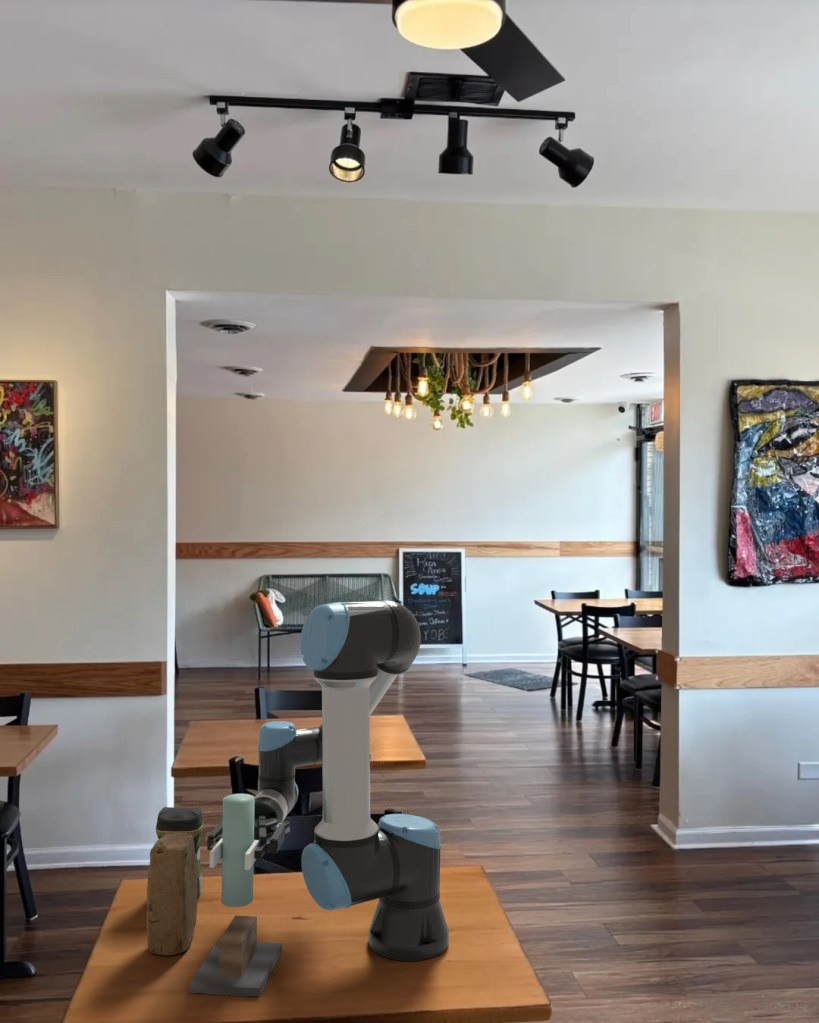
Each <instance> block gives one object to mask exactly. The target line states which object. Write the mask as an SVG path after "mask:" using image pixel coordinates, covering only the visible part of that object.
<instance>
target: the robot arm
mask: <svg viewBox="0 0 819 1023" xmlns="http://www.w3.org/2000/svg"><path fill="white" fill-rule="evenodd" d="M421 636H422V634H421V629H420V625H419V623H418V621H417V618H416V617H415V616H414V614H413V613H412V611H411V610H410V609H408V608H407V607H406V606H405V605H404V604H403V605H402V604H401V603H399V602H397V601H394V600H388V599H378V600H369V601H368V600H367V601H366V600H364V601H343V602H342V601H338V602H330V603H325V604H324V603H323V604H320V605H317V606H315V607H313V609H312V610H311V611H310V612H309V614H308V616H306V618H305V620H304V623H303V625H302V629H301V634H300V653H301V655H302V656H303V657H302V660H303V663H304V664H305V666H306V667H307V669H309V670H312V671H313V679H314V680H315V681H316V683H318V684H319V685H320V686H321V711H322V712H321V714H322V715H321V718H322V719H321V721H322V722H321V724H320V725H319V726H313V727H306V728H300V729H296V726H295V723H293V722H291V721H284V720H280V721H277V720H276V721H275V720H274V721H269V722H266V723H264V724H262V726H261V727H260V728H259V733H258V734H259V735H258V744H257V746H258V747H257V748H258V749H257V750H258V753H257V754H258V778H257V793H256V795H254V797H255V805H254V842H253V844H252V845H251V846H250V848H249V849H248V850H247V852H246V853H245V870H249V869H250V868H251V866H252V865H253V863H254V864H255V862H256V861H257V860H260V859H262V858H263V856H264V855H266V854H267V853H268V852H270V854H272V855H275V854H276V855H277V853H278V852H279V850H280V848H281V846H282V844H283V842H284V841H285V839H286V838H288V837H289V836H290V834H291V833H290V832H291V822H290V821H288V820H287V821H285V819H286V817H287V816H288V814H289V813H290V812H291V811H292V810H293V809H294V807H295V805H296V803H297V801H298V796H299V787H298V785H297V783H296V781H295V778H296V768H298V767H303V766H309V765H316V764H322V768H321V769H322V819H321V821H320V822H319V823H318V824H317V825H316V826H315V827H314V832H313V833H314V840H313V842H312V843H309V844H308V845H306V846H305V847H304V849H303V851H302V852H301V853H302V854H301V861H300V862H301V872H302V877H303V880H304V883H305V886H306V889H307V890H308V893H309V895H310V896H311V898H312V900H314V902H315V904H317V905H318V906H319V907H320V908H321V909H323V910H325V911H337V910H340V909H349V908H351V907H353V906H356V905H360V904H363V903H366V902H371V901H373V900H377V904H376V906H375V909H374V913H373V916H372V918H371V922H370V926H369V929H368V945H369V947H370V949H371V950H372V951H373V952H375V953H376V954H377V955H378V956H379V955H380V956H381V957H384V958H387V959H389V960H394V961H395V960H396V961H404V962H416V961H424V960H428V959H431V958H434V957H437V956H439V955H441V954H443V953H444V951H446V949H447V948H448V947H449V943H450V941H449V938H450V935H449V934H450V933H449V927H448V923H447V920H446V917H445V914H444V910H443V907H442V905H441V900H440V898H441V897H440V896H441V849H442V845H441V834H440V833H441V832H440V829H439V826H438V825H437V823H435V822H434V821H432V820H430V819H428V818H425V817H423V816H417V815H415V814H405V813H391V814H385V815H383V816H381V817H380V818H379V821H378V823H376V822H375V821H374V820H373V819H372V818H371V759H370V758H371V753H370V752H371V747H370V746H371V744H370V742H371V740H370V739H371V738H370V737H371V736H370V733H371V732H370V730H371V729H370V726H371V725H370V724H371V723H370V722H371V721H370V717H371V714H372V713H373V712H374V710H375V709H376V707H377V706H378V704H379V703H380V702H381V700H382V699H383V697H384V696H385V695H386V693H387V691H388V690H389V688H390V687H391V686H392V684H393V683H394V681H395V680H396V679H397V676H399V675H402V674H405V673H406V672H408V670H409V669H410V667H411V666H412V664H413V663H414V661H415V659H417V658H416V657H417V656H418V654H419V650H420V647H421V640H422V639H421V638H422V637H421ZM222 832H223V817H222V818H220V822H219V824H218V825H217V826H216V827H215V828H214V829H213V830H212V831H211V832H210V833H209V834H207V837H206V839H207V840H206V842H207V849H206V850H208V851H209V869H210V868H211V869H214V868H215V867H216V866H217V865H218V863H219V862H220V861H222ZM268 839H270V840H268Z"/></svg>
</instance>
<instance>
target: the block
mask: <svg viewBox="0 0 819 1023" xmlns="http://www.w3.org/2000/svg"><path fill="white" fill-rule="evenodd" d="M197 911H198V897H197V863H196V854H195V849H194V839H193V836H192V835H191V834H185V833H174V834H165V835H163V836H162V837H161V838H160V839H157V840H156V842H154V844H153V846H152V848H151V849H150V852H149V867H148V870H147V888H146V939H147V940H146V941H147V949H148V951H149V952H150V953H152V954H156V955H159V956H174V955H178V954H181V953H184V952H185V951H186V950H188V949H189V948H190V946H191V944H192V942H193V940H194V934H195V928H196V924H197V914H198V912H197Z"/></svg>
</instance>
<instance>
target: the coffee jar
mask: <svg viewBox="0 0 819 1023" xmlns="http://www.w3.org/2000/svg"><path fill="white" fill-rule="evenodd" d="M203 828H204V820H203V812H202V808H201V807H200V806H198V807H197V806H196V807H184V806H183V807H181V806H180V807H174V806H173V807H172V806H171V807H168V806H164V807H163V808H161V810H160V811H159V812H158V815H157V818H156V825H155V834H156V836H157V840H159V839H160V838H161V837H162V836H163V835H165V834H174V833H185V834H191V835H192V836H193V839H194V849H195V854H196V863H197V898H199V896H200V895H201V893H202V892H203V891H202V890H203V878H202V867H201V866H202V865H201V849H200V848H201V835H202V832H203V830H204V829H203Z"/></svg>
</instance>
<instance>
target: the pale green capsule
mask: <svg viewBox="0 0 819 1023" xmlns="http://www.w3.org/2000/svg"><path fill="white" fill-rule="evenodd" d="M254 805H255V795H253V794H252V795H251V794H249V793H232V794H228V795H226V796H224V797H223V798H222V818H223V832H222V858H221V901H220V902H221V903H222V905H223V906H225V907H230V908H240V907H246V906H248V905H250V904H251V903H253V901H254V871H255V870H254V864H255V862H254V863H253V865H252V866H251V868H250V869H249V870H245V853H246V852H247V850H248V849H249V848H250V846H251V845H252V844H253V842H254V841H255V840H254Z"/></svg>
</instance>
